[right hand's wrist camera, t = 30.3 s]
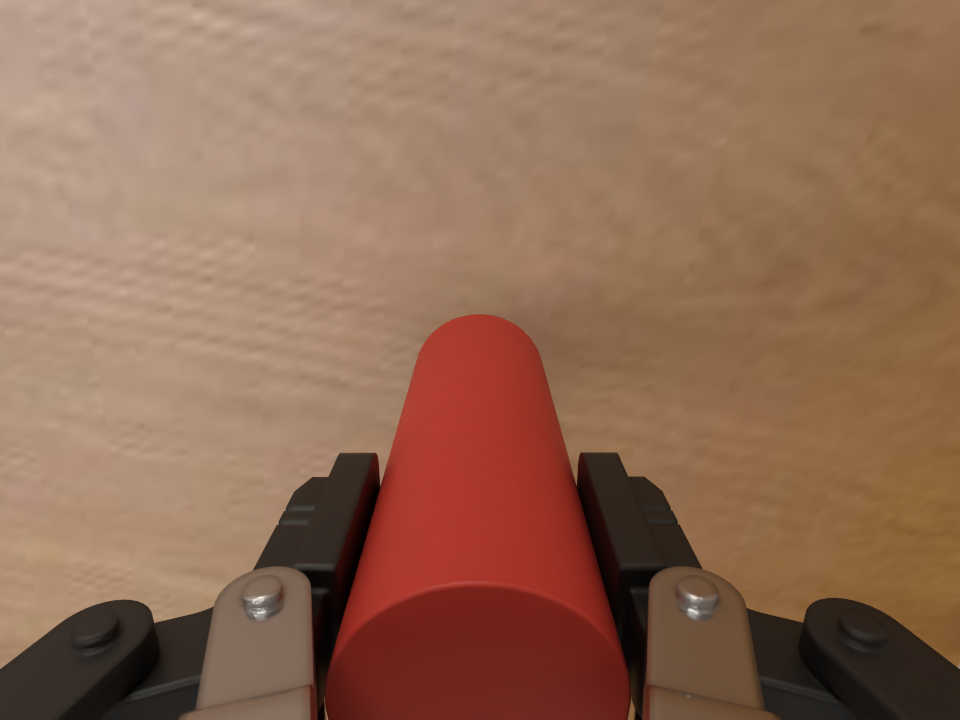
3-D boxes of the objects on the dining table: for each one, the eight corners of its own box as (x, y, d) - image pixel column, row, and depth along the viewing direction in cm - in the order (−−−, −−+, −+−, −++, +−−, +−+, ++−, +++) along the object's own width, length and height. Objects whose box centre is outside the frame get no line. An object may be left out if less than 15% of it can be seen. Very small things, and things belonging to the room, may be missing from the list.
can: (501, 289, 18) (537, 530, 7) (565, 395, 19) (682, 745, 8) (390, 354, 19) (259, 668, 8) (458, 452, 20) (431, 847, 9)
